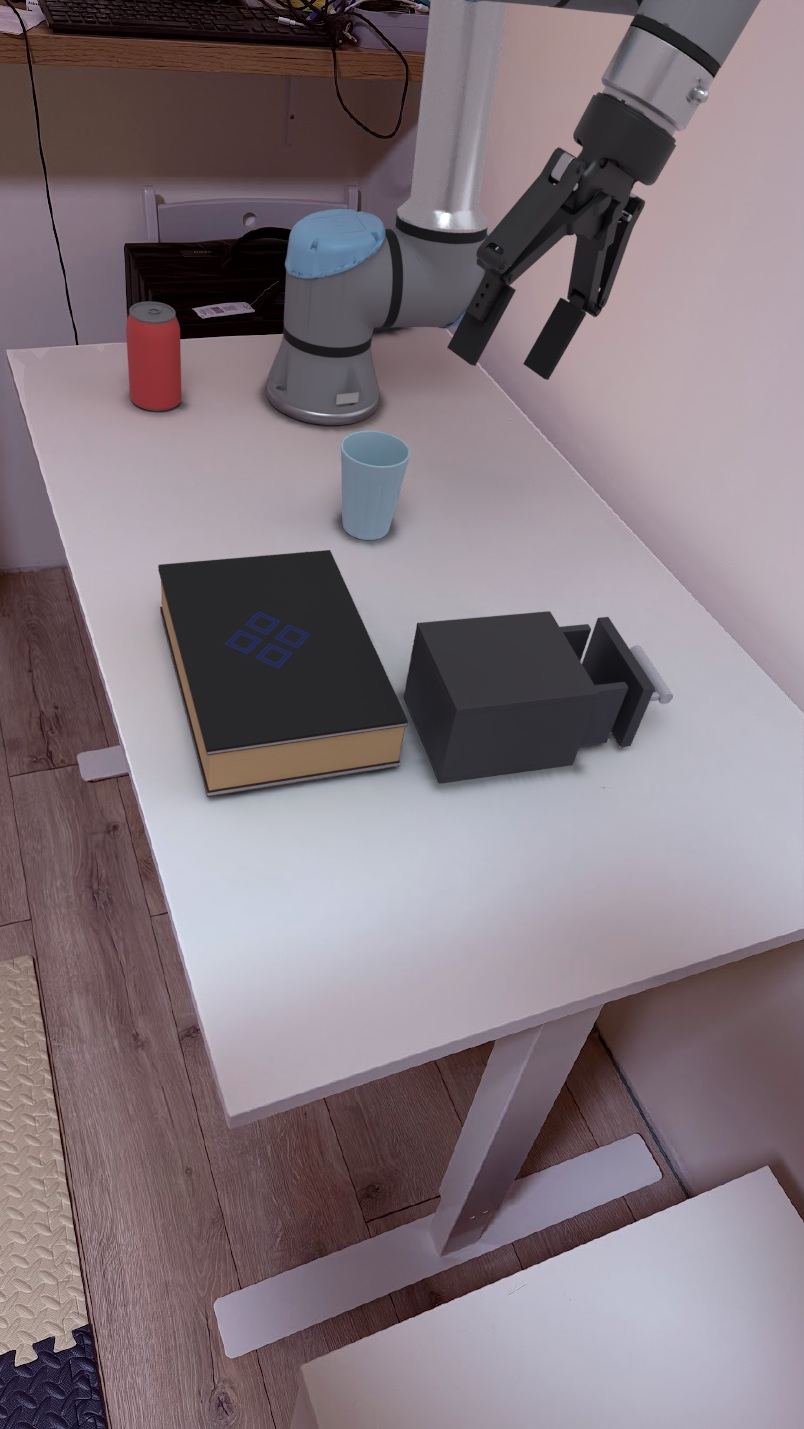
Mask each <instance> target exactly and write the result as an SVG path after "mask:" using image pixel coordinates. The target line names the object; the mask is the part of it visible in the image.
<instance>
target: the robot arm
mask: <svg viewBox="0 0 804 1429" xmlns="http://www.w3.org/2000/svg"><path fill="white" fill-rule="evenodd" d="M761 1H762V0H430V4H429V14H428V24H427V34H426V41H425V42H426V43H425V45H426V46H425V51H424V52H425V53H424V61H423V62H424V63H423V70H422V80H421V83H422V84H421V90H420V100H419V109H418V118H417V119H418V120H417V128H416V129H417V130H416V138H415V151H414V157H413V158H414V159H413V167H412V176H411V177H412V178H411V189H410V196H409V198H408V199H407V200H405V201H404V202H403V203H402V204H401V205H400V206H399V207H397V209H396V216H395V226H394V228H385V225H384V222H383V221H382V219H380V218H379V217H378V216H377V215H375V214H373V213H370V212H368V211H364V210H362V211H361V210H360V211H356V209H351V208H335V209H326V210H325V209H324V210H321V211H316V212H312V213H309V214H308V215H306V216H304V217H303V218H301V219H299V220H298V221H296V223H295V224H294V226H293V227H292V228H291V231H290V233H289V237H288V243H287V252H286V257H285V261H284V268H285V287H284V290H285V291H284V307H283V308H284V310H283V330H282V331H283V332H282V339H281V342H280V345H279V347H278V349H277V353H276V355H275V357H274V360H273V362H272V365H271V368H270V370H269V372H268V376H267V380H266V397H267V399H268V401H269V403H270V404H271V405H272V406H273V407H274V408H275V409H276V410H278V411H279V412H280V413H282V414H284V415H286V416H288V417H290V418H292V419H295V420H297V421H301V422H305V423H309V424H312V425H313V424H314V425H322V426H343V425H344V426H345V425H350V424H355V423H358V422H361V421H364V420H366V419H368V418H369V417H371V416H372V415H373V414H374V413H375V412H376V410H377V409H378V405H379V397H380V389H379V388H380V387H379V383H378V378H377V373H376V369H375V368H376V367H375V363H374V359H373V358H374V357H373V353H372V341H373V334H377V333H383V332H390V331H395V330H399V329H401V328H438V329H445V330H447V329H450V328H453V327H456V330H455V332H454V333H453V335H452V337H451V340H450V341H449V343H448V345H447V346H446V348H447V349H448V350H449V351H451V352H452V353H454V355H456V356H458V357H459V358H461V359H462V360H463V361H465V362H466V363H467V364H469V365H470V366H477V364H478V362H479V360H480V358H481V357H482V354H483V353H484V350H485V349H486V347H487V346H488V343H489V341H490V339H491V337H492V335H494V332H495V330H496V328H497V327H498V325H499V323H500V321H501V319H502V317H503V315H504V313H505V312H506V310H507V309H508V306H509V304H510V302H511V300H512V298H513V297H514V295H515V293H516V291H517V289H515V288H514V287H512V284H514V283H515V282H516V281H517V279H519V278H520V277H521V276H522V275H524V273H525V272H527V271H528V270H529V269H530V268H531V267H532V266H533V265H534V264H536V262H538V261H539V260H540V259H541V258H542V257H543V256H544V255H545V254H546V253H548V252H549V251H550V250H551V249H552V248H553V247H554V246H555V245H557V243H558V242H560V241H561V240H562V239H563V238H564V237H567V236H570V237H571V236H574V235H575V237H576V240H575V246H574V254H573V258H572V264H571V265H572V266H571V270H570V271H571V272H570V278H569V283H568V290H567V296H566V299H567V300H566V299H565V298H563V297H559V299H558V301H557V303H556V304H555V306H554V307H553V310H552V312H551V313H550V315H549V316H548V318H547V320H546V322H545V323H544V326H543V327H542V329H541V331H540V333H539V334H538V337H537V338H536V340H535V342H534V343H533V345H532V347H531V349H530V350H529V352H528V354H527V356H526V358H525V360H524V361H523V363H522V365H523V366H525V367H527V368H528V369H529V370H531V371H532V372H534V373H535V374H537V375H538V376H539V377H540V378H542V379H543V380H547V381H548V380H550V378H551V376H552V374H553V373H554V371H555V370H556V368H557V366H558V365H559V362H560V361H561V359H562V357H563V356H564V354H565V352H566V350H567V348H568V347H569V345H570V343H571V342H572V339H573V338H574V336H575V335H576V333H577V331H578V329H579V327H580V326H581V324H582V323H583V321H584V319H585V318H586V316H587V314H589V315H590V316H592V317H593V318H597V317H598V316H599V315H600V314H601V313H602V311H603V308H605V306H606V305H607V303H608V301H609V298H610V295H611V292H612V290H613V286H614V283H615V281H616V277H617V275H618V272H619V270H620V266H621V264H622V261H623V258H624V255H625V253H626V249H627V247H628V243H629V241H630V238H631V236H632V232H633V229H634V227H635V225H636V224H637V221H638V220H639V218H640V216H641V213H642V212H643V210H644V208H645V206H646V200H645V199H643V198H641V197H640V196H638V195H636V194H635V193H633V192H632V191H633V189H634V187H635V184H636V183H637V182H639V183H641V184H642V185H644V186H646V187H647V186H652V185H654V184H655V183H656V182H657V180H658V179H659V177H660V176H661V173H662V171H663V170H664V168H665V166H666V165H667V163H668V161H669V159H670V158H671V156H672V154H673V153H674V151H675V149H676V147H677V144H676V142H677V140H676V138H675V137H674V134H675V132H676V131H677V132H683V131H685V130H686V128H687V127H688V125H689V123H690V122H691V120H692V118H693V117H694V115H695V113H696V111H697V109H698V108H699V106H700V104H704V103H706V102H707V100H708V99H709V95H710V92H709V91H708V90H709V88H710V87H711V85H712V83H713V81H714V79H715V78H716V76H717V74H718V72H720V69H721V68H722V67H723V65H724V64H725V61H726V60H727V58H728V56H730V54H731V52H732V50H733V48H734V46H735V44H736V43H737V41H738V39H739V38H740V37H741V34H742V33H743V31H744V30H745V28H746V26H747V24H748V22H750V19H751V17H752V16H753V14H754V13H755V11H756V9H757V7H758V6H759V4H760V2H761ZM508 4H517V5H525V6H526V5H527V6H538V7H548V8H556V9H563V10H564V9H565V10H574V11H582V12H591V13H603V14H613V15H622V16H630V17H633V19H632V20H631V22H630V24H629V27H628V29H627V30H626V32H625V34H624V36H623V38H622V40H621V41H620V44H619V45H618V47H617V49H616V51H615V52H614V54H613V56H612V58H611V60H610V62H609V64H608V66H607V67H606V69H605V71H604V72H603V74H602V76H601V84H602V85H603V86H604V89H603V90H602V92H599V91H598V92H597V93H596V94H593V95H592V96H591V98H590V100H589V102H588V104H587V106H586V108H585V109H584V111H583V114H582V115H581V117H580V119H579V121H578V123H577V125H576V126H575V129H574V131H573V135H572V137H573V141H574V142H575V143H576V144H577V145H578V146H580V147H582V148H581V151H580V153H579V154H578V156H575V155H573V153H570V152H568V151H567V150H565V149H563V148H562V147H560V146H559V147H556V148H555V149H554V150H553V152H552V154H551V155H550V157H549V158H548V160H547V162H546V164H545V165H544V167H543V169H542V170H541V172H540V174H539V175H538V176H537V178H535V179H534V181H533V182H532V183H531V185H530V186H528V188H527V189H526V190H525V192H524V193H523V194H522V195H521V196H520V198H519V199H518V200H517V201H516V202H515V203H514V205H513V206H512V207H511V208H510V209H509V211H508V212H507V213H506V214H505V215H504V217H503V218H502V219H501V220H500V222H498V224H497V225H496V226H495V227H494V229H493V230H492V231H491V232H489V231H488V227H489V220H488V218H487V217H486V215H485V213H483V211H482V210H481V206H480V200H481V199H480V198H481V193H482V185H483V180H484V179H483V178H484V170H485V164H486V157H487V151H488V143H489V138H490V137H489V136H490V129H491V124H492V116H493V109H494V102H495V94H496V90H497V89H496V88H497V82H498V81H497V80H498V75H499V68H500V67H499V66H500V60H501V55H502V54H501V53H502V46H503V39H504V33H505V26H506V18H507V12H508V6H509V5H508Z"/></svg>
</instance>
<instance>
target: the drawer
mask: <svg viewBox="0 0 804 1429" xmlns="http://www.w3.org/2000/svg"><path fill="white" fill-rule="evenodd" d="M559 627H560V628H561V630H562V632H563V633H564V635H565V637H566V638H567V640H568V642H569V644H570V645H571V647H572V649H573V650H574V652H575V654H576V655H577V657H578V659H579V660H580V662H581V664H582V665H583V667H584V669H585V670H586V672H587V674H588V675H589V677H590V679H591V680H592V682H593V684H594V685H595V687H596V689H597V690H598V692H599V695H598V698H597V700H596V703H595V706H594V708H593V711H592V714H591V717H590V719H589V722H588V725H587V727H586V730H585V733H584V735H583V738H582V741H581V744H580V746H579V747H586V746H591V745H592V746H593V745H600V744H606V743H608V741H609V738H610V735H612V737H613V739H614V740H615V742H616V743H617V745H618V747H619V748H627V747H631V746H632V744H633V742H634V739H635V737H636V735H637V732H638V730H639V728H640V725H641V722H642V720H643V718H644V716H645V713H646V711H647V709H648V706H649V703H650V702H656V701H658V702H659V703H660V704H662V705H666V704H668V703H670V702H671V701H672V700H673V698H674V694H673V692H672V691H671V689H670V688H669V686H668V685H667V684H666V682H665V680H664V679H663V677H662V676H661V674H660V673H659V672H658V670H657V669H656V667H655V665H654V664H653V662H652V661H651V660H650V658H649V656H648V655H647V653H646V652H645V650H644V649H643V647H642V646H641V645H633V646H632V647H630V648H629V646H628V644H627V643H626V641H625V640H624V639H623V637H622V635H621V634H620V632H619V631H618V629H617V628H616V626H615V625H614V623H613V621H612V620H611V618H610V617H609V616H603V617H602V616H601V617H597V619H596V621H595V624H594V628H593V629H592V628H591V626H590V624H588V623H584V624H575V625H564V626H563V625H562V626H559ZM592 630H593V631H592ZM591 631H592V633H591ZM590 634H591V636H590ZM589 637H590V639H589ZM588 641H589V642H588ZM587 643H588V644H587ZM586 646H587V648H586ZM585 649H586V650H585ZM584 652H585V653H584ZM583 655H584V657H583ZM582 658H583V660H582Z"/></svg>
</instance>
